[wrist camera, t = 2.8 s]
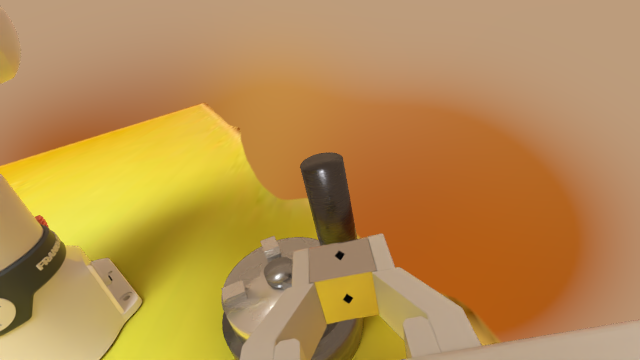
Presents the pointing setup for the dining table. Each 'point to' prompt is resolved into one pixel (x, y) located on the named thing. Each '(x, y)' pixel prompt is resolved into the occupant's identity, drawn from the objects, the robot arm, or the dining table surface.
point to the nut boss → (330, 351)
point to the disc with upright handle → (289, 247)
